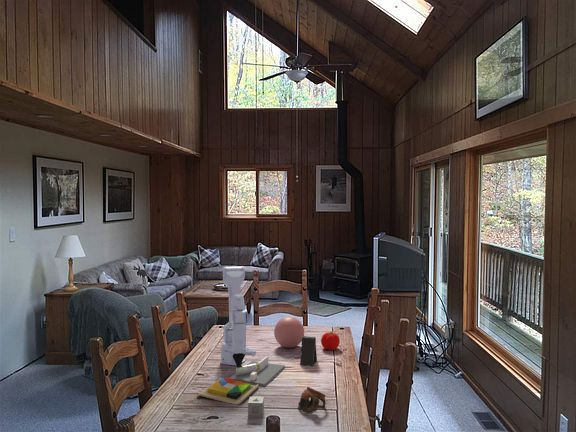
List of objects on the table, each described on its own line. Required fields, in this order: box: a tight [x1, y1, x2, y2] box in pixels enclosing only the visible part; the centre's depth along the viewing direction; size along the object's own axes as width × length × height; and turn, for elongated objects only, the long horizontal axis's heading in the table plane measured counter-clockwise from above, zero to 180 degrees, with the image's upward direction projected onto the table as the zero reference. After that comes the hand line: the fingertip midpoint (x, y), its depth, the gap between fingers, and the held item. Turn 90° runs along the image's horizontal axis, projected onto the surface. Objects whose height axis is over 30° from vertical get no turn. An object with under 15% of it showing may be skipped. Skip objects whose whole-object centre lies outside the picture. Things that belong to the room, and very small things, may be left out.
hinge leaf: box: [235, 364, 259, 376], centre depth 192 cm, size 11×1×3 cm, turn 119°
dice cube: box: [247, 396, 265, 418], centre depth 157 cm, size 5×5×5 cm
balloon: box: [273, 316, 305, 349], centre depth 232 cm, size 15×20×15 cm
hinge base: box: [229, 355, 285, 387], centre depth 194 cm, size 16×22×4 cm
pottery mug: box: [297, 386, 327, 414], centre depth 161 cm, size 12×10×8 cm
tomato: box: [320, 331, 341, 351], centre depth 228 cm, size 9×10×8 cm
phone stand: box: [299, 335, 318, 367], centre depth 208 cm, size 9×6×12 cm, turn 164°
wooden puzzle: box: [196, 376, 259, 406], centre depth 175 cm, size 18×19×4 cm
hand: (239, 370), depth 192 cm, fingers closed, pressing on hinge leaf
